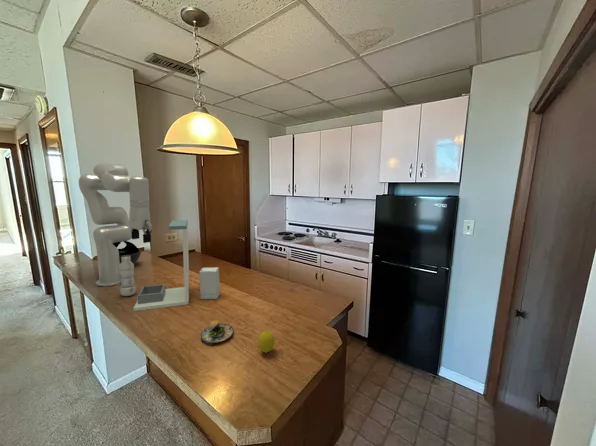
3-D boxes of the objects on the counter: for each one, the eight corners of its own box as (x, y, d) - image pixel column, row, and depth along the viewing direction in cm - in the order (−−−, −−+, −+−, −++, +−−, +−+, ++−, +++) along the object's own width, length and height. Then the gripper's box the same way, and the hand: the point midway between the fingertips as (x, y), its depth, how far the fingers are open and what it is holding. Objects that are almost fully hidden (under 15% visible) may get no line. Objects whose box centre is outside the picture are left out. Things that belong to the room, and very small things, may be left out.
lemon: (258, 347, 88) (259, 326, 87) (274, 347, 89) (274, 326, 88) (257, 358, 83) (257, 335, 82) (274, 357, 83) (274, 335, 82)
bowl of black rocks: (109, 263, 169) (107, 236, 166) (143, 260, 178) (142, 235, 175) (100, 273, 151) (98, 243, 148) (139, 269, 160) (137, 241, 157)
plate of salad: (210, 351, 86) (209, 331, 85) (194, 336, 94) (194, 317, 93) (239, 336, 94) (239, 318, 93) (223, 324, 102) (223, 307, 101)
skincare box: (220, 294, 129) (220, 267, 127) (216, 299, 123) (216, 271, 121) (203, 294, 129) (203, 266, 126) (199, 299, 123) (199, 270, 120)
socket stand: (141, 294, 126) (137, 220, 120) (189, 289, 134) (187, 220, 128) (133, 311, 109) (128, 227, 104) (188, 304, 117) (186, 225, 112)
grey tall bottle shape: (128, 298, 121) (126, 258, 118) (116, 296, 122) (114, 257, 119) (139, 293, 127) (137, 255, 124) (128, 291, 128) (125, 254, 125)
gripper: (121, 202, 115) (122, 238, 118) (141, 206, 107) (143, 245, 110) (138, 202, 122) (139, 236, 124) (158, 205, 113) (159, 242, 116)
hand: (141, 240), depth 117 cm, fingers open, 9 cm apart
